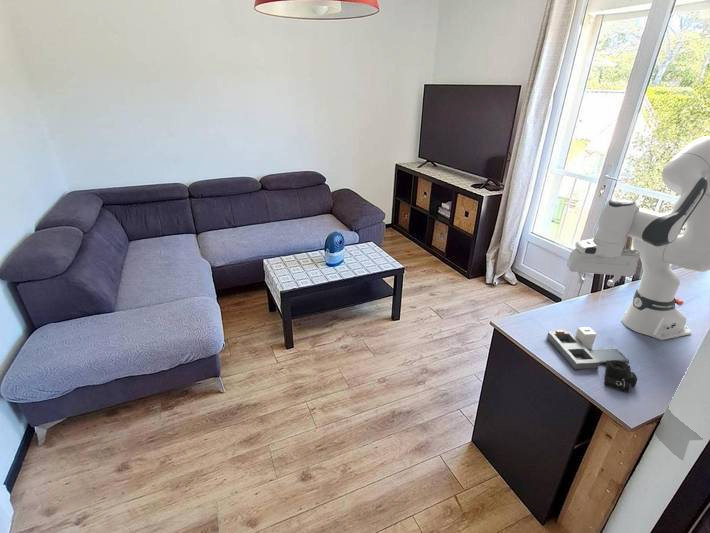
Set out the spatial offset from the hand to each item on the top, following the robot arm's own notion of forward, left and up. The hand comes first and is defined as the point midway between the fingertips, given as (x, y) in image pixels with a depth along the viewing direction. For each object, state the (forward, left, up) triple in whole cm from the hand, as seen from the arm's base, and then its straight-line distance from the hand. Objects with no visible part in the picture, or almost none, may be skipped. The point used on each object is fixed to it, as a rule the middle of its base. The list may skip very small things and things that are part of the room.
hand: (595, 284), depth 127 cm
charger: (0, +2, -24) cm, 25 cm away
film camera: (-1, +20, -25) cm, 32 cm away
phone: (-3, +10, -24) cm, 26 cm away
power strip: (+7, +6, -24) cm, 26 cm away
